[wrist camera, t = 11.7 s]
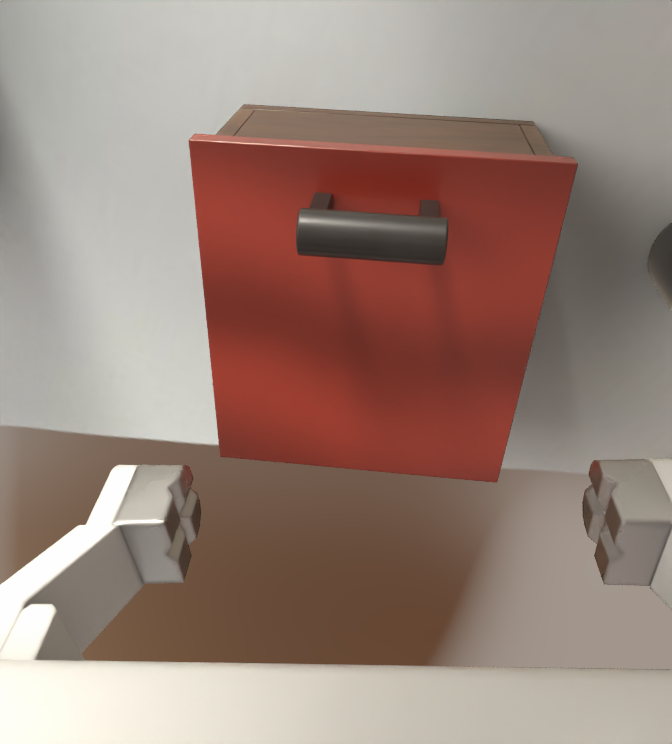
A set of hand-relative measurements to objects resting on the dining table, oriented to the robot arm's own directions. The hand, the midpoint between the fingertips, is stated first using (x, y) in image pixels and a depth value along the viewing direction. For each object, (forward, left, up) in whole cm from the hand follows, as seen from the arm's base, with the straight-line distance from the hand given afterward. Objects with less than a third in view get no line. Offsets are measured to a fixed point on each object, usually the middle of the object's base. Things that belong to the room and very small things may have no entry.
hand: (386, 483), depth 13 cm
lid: (+3, -4, -15) cm, 16 cm away
